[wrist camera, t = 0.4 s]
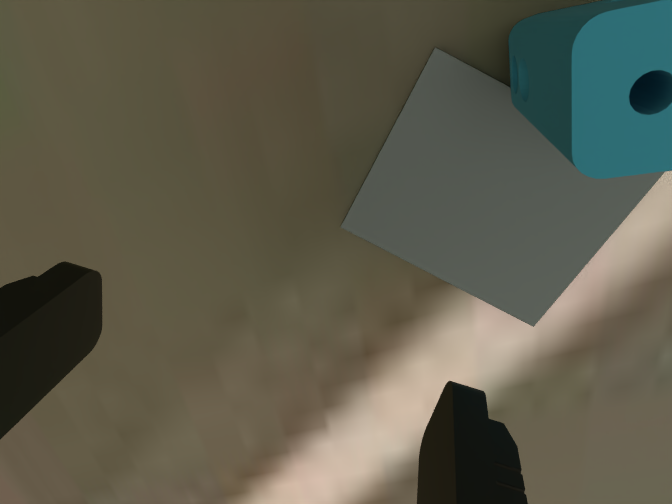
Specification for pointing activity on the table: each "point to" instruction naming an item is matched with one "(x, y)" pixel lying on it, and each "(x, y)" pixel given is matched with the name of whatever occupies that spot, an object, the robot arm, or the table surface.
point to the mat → (486, 194)
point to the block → (599, 84)
